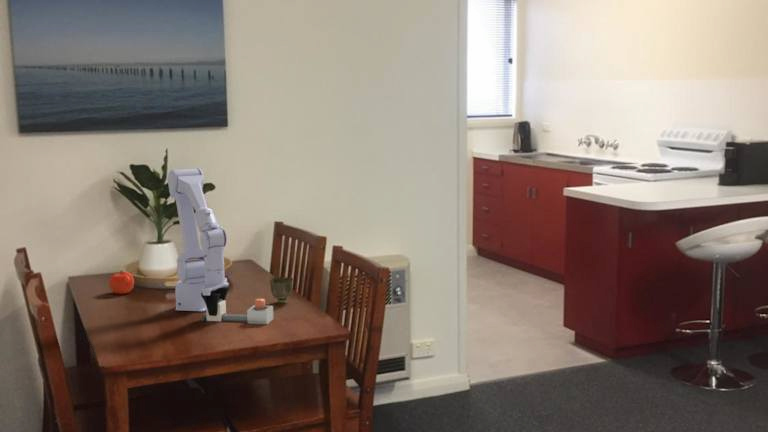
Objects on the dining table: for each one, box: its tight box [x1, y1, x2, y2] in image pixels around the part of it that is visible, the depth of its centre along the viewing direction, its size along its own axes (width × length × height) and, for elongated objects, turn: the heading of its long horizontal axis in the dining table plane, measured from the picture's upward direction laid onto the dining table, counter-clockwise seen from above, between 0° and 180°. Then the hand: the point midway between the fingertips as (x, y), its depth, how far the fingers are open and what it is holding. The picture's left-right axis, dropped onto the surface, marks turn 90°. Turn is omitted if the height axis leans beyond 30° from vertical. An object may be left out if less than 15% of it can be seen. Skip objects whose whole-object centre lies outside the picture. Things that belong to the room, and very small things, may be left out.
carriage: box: [205, 299, 227, 322], centre depth 241 cm, size 4×5×6 cm
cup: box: [269, 276, 294, 305], centre depth 258 cm, size 8×7×8 cm
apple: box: [108, 270, 135, 295], centre depth 273 cm, size 8×8×8 cm
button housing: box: [246, 304, 274, 325], centre depth 238 cm, size 6×6×4 cm
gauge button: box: [254, 298, 266, 308], centre depth 238 cm, size 3×3×2 cm
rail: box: [200, 312, 248, 323], centre depth 240 cm, size 14×4×2 cm, turn 80°
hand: (216, 313), depth 241 cm, fingers closed on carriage, 5 cm apart
